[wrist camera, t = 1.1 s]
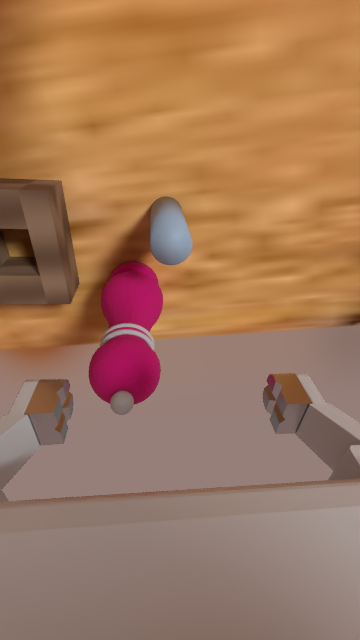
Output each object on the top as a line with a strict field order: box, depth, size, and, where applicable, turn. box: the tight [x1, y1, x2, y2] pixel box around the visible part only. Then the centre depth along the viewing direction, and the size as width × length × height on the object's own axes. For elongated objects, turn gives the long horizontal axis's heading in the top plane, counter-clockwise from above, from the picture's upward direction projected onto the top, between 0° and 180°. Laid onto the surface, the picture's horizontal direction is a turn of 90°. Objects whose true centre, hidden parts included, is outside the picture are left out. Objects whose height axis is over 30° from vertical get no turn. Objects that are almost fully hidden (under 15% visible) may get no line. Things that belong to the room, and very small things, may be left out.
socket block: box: [0, 178, 79, 304], centre depth 30 cm, size 12×10×5 cm
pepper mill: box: [89, 262, 163, 415], centre depth 29 cm, size 7×7×20 cm
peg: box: [150, 197, 192, 265], centre depth 28 cm, size 4×4×10 cm
